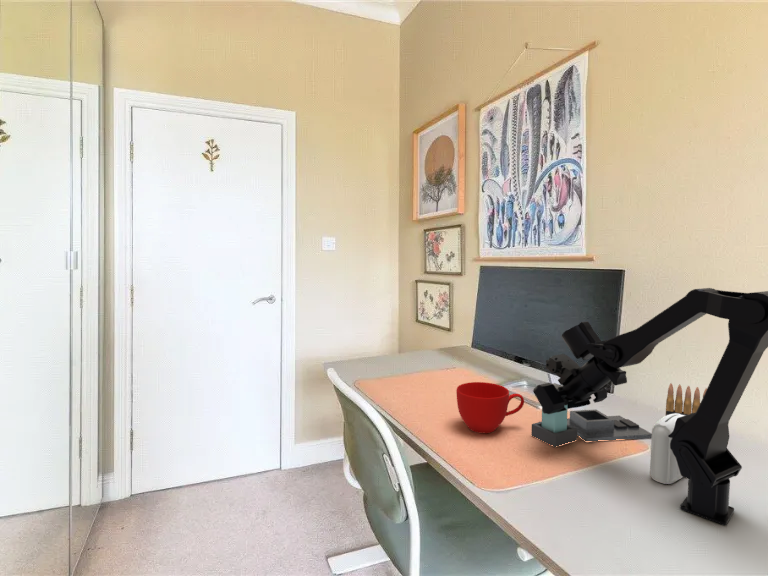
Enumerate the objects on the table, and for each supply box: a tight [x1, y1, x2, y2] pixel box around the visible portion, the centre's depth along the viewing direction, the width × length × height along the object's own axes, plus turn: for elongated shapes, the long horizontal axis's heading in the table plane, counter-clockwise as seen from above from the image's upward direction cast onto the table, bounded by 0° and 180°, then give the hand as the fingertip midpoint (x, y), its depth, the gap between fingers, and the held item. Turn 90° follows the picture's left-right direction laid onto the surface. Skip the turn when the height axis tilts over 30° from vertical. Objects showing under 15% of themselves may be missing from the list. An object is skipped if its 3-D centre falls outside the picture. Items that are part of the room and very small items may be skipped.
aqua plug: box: [541, 382, 568, 433], centre depth 105 cm, size 4×4×13 cm
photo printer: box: [649, 413, 686, 485], centre depth 87 cm, size 10×4×12 cm, turn 123°
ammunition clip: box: [664, 382, 708, 416], centre depth 107 cm, size 11×2×12 cm, turn 55°
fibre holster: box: [530, 421, 578, 448], centre depth 105 cm, size 7×7×3 cm
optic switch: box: [567, 409, 652, 442], centre depth 110 cm, size 12×17×4 cm
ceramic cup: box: [455, 381, 525, 434], centre depth 111 cm, size 13×17×10 cm
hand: (549, 409), depth 106 cm, fingers closed on aqua plug, 4 cm apart
